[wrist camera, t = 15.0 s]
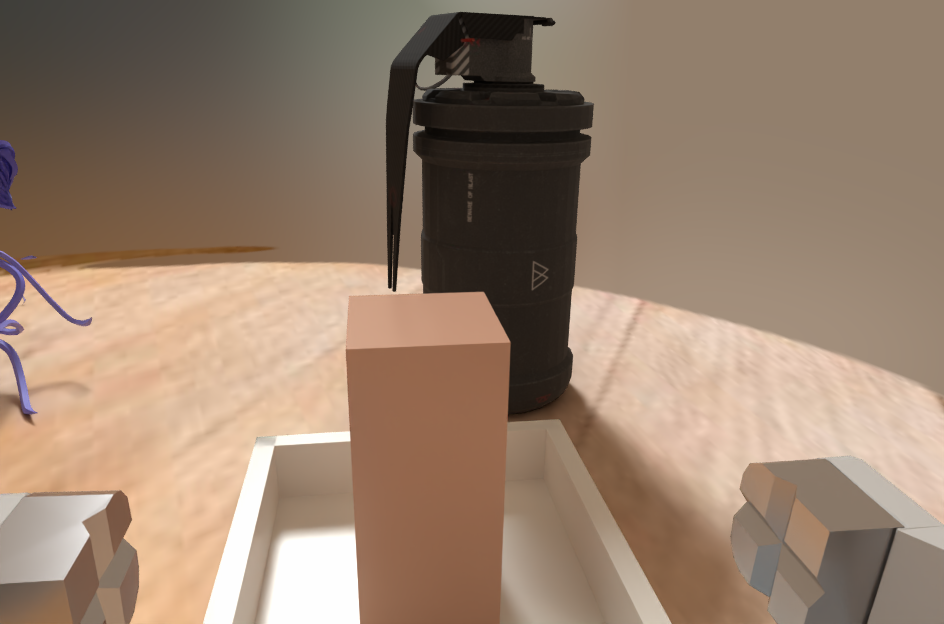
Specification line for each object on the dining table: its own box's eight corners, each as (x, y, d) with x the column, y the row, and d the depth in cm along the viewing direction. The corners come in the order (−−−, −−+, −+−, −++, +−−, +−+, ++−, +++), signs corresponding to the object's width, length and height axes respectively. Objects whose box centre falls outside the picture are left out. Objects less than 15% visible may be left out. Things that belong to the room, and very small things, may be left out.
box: (676, 738, 19) (689, 656, 18) (191, 801, 17) (176, 714, 16) (555, 476, 31) (559, 419, 30) (263, 497, 29) (256, 436, 28)
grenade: (605, 401, 38) (641, 16, 32) (430, 448, 33) (428, 2, 27) (517, 345, 46) (531, 25, 39) (364, 376, 41) (348, 15, 34)
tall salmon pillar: (499, 624, 22) (510, 342, 19) (360, 638, 22) (345, 349, 18) (478, 535, 26) (483, 291, 23) (360, 545, 26) (349, 296, 22)
